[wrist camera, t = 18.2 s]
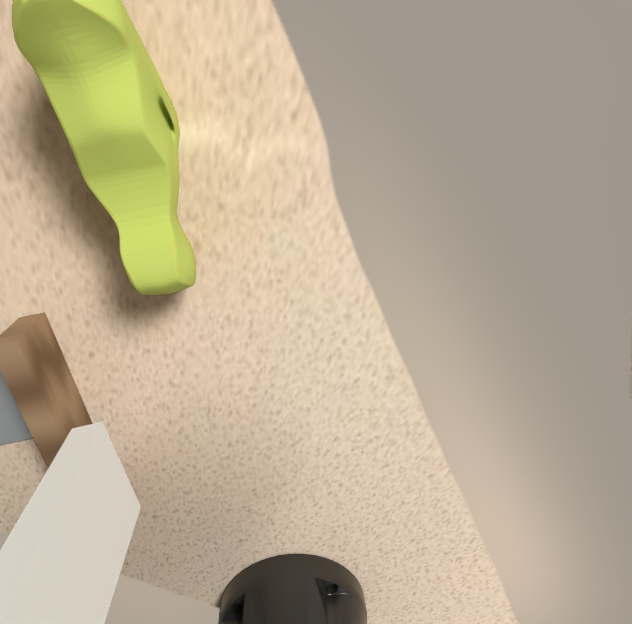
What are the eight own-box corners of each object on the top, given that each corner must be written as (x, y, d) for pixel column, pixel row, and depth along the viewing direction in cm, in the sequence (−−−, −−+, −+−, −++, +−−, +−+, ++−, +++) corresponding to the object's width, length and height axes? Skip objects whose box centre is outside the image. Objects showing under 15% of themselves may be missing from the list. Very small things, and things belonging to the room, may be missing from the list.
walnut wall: (128, 507, 49) (113, 550, 44) (107, 511, 49) (90, 555, 44) (44, 312, 41) (16, 339, 37) (19, 317, 41) (-12, 345, 37)
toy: (92, 41, 40) (147, 301, 41) (-61, -137, 23) (38, 307, 24) (173, 25, 40) (227, 285, 41) (78, -164, 23) (172, 280, 24)
